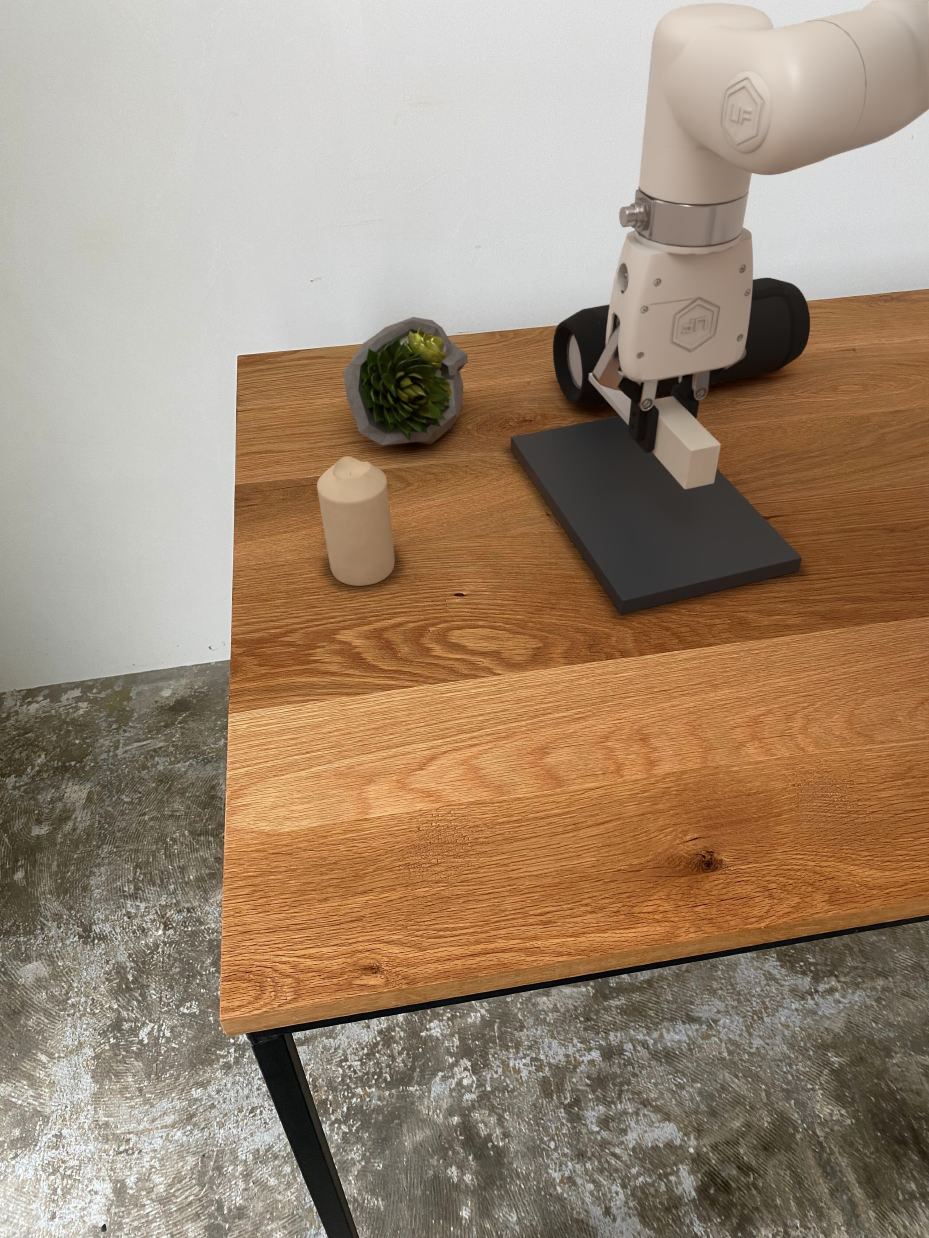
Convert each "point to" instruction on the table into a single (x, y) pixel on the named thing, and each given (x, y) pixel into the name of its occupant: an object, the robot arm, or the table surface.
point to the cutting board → (648, 518)
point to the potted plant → (406, 383)
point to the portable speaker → (769, 348)
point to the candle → (356, 522)
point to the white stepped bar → (675, 439)
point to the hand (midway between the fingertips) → (660, 438)
